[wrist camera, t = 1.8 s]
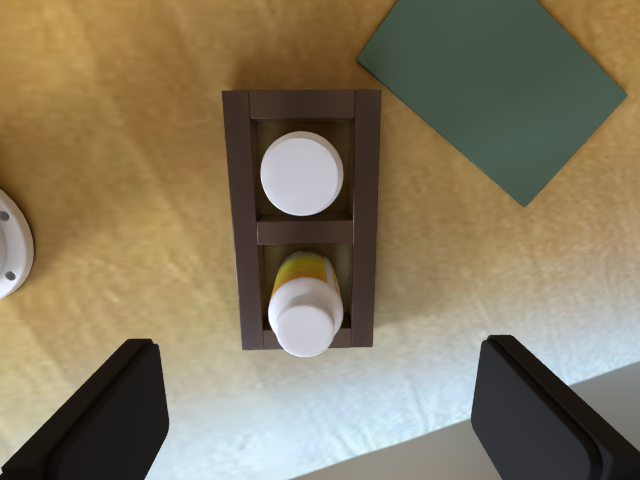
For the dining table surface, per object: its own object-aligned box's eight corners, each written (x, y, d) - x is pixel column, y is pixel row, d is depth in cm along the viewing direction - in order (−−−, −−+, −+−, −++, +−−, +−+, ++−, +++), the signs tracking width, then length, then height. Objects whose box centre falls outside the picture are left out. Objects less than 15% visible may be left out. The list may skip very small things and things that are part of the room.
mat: (355, 60, 27) (356, 59, 27) (455, -80, 25) (457, -83, 25) (522, 206, 31) (525, 207, 30) (623, 96, 29) (628, 95, 28)
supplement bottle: (265, 273, 32) (245, 327, 22) (309, 236, 31) (309, 276, 21) (303, 313, 33) (301, 382, 23) (347, 278, 32) (363, 335, 22)
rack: (248, 333, 33) (242, 350, 30) (230, 96, 28) (221, 90, 25) (367, 330, 34) (372, 347, 31) (374, 95, 28) (381, 89, 25)
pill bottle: (346, 150, 29) (364, 150, 19) (323, 210, 30) (328, 238, 21) (284, 125, 28) (271, 112, 19) (263, 188, 30) (240, 205, 20)
